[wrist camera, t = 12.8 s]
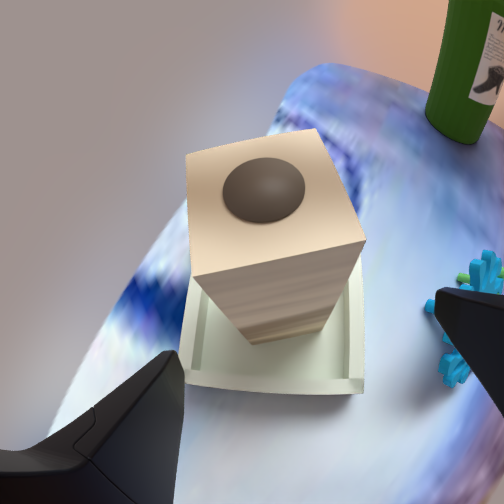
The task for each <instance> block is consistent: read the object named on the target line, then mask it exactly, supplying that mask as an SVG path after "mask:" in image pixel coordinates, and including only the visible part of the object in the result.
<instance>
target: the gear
mask: <svg viewBox="0 0 504 504" xmlns="http://www.w3.org/2000/svg"><path fill="white" fill-rule="evenodd" d="M458 281H460V282H464V283H468V284H470V286H469V285H465V284H462V285H461V286H460V288H459V289H464V290H471V291H478V292H485V293H492V294H500V295H501V293H502V289H503V281H504V268H503V267H502V262H501V258H497V257H496V254H495V253H494V252H493V251H488V250H483V252H482V257H481V260H478V259H474V260H472V261H471V263H470V266H469V275H467V274H463V273H459V274H458ZM434 305H435V300H431V299H428V300H427V302H426V304H425V311H427V312H430V313H433V314H434ZM442 341H443V342H445V343H447V344H450V345H452V346H454V345H453V344H452V342H451V341H450V339H449V337H448V336H447V334H446V333H444V336H443V339H442ZM470 369H471V368H470V367H469V366H468V364H467V363H466V362H465V360H464V359H463V358H462V356H461V355H460V354H459V352H458V351H457V350H456V348H454V350H453V352H452V353H451V354H448V353H445V354H444V355H443V356H442V357H441V360H440V363H439V369H438V372H440V373H442V374H444V376H443V383H444V384H445V385H447V386H449V387H451V388H453V387H454V386H455V384H456V383H457V382H459V383H461V384H463V383H464V382H465V381H466V379H467V377H468V374H469V371H470Z"/></svg>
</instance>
